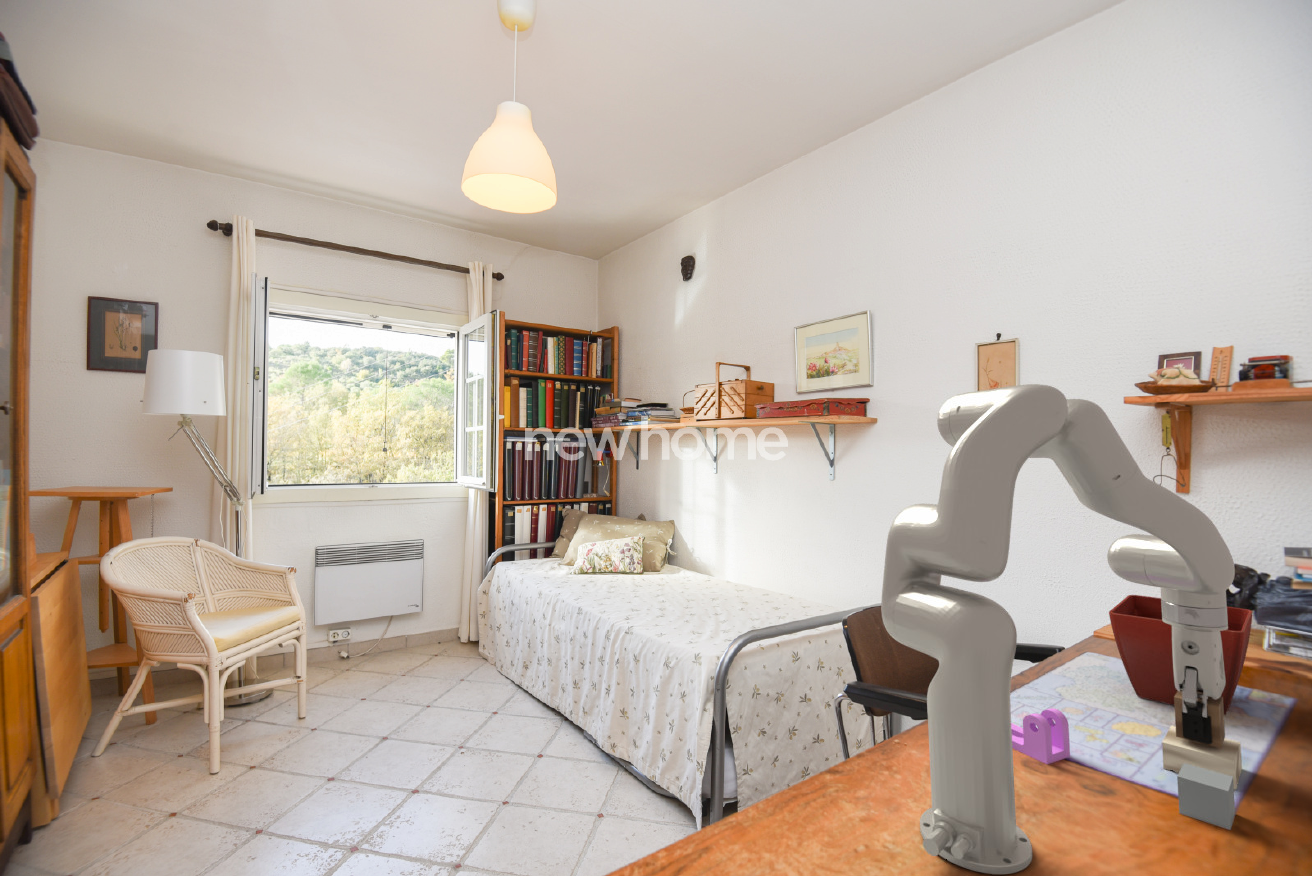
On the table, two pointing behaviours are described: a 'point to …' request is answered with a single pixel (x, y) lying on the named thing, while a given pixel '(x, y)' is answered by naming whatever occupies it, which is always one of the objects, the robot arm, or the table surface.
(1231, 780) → the grey block
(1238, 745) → the birch block
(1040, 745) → the bracket
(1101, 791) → the table surface
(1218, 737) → the walnut block
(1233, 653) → the plant pot
